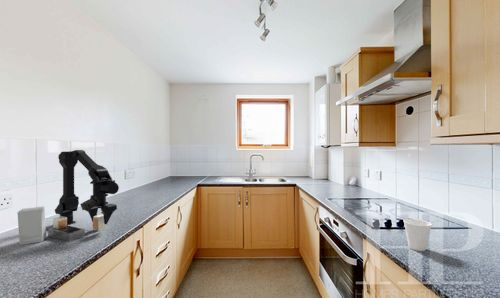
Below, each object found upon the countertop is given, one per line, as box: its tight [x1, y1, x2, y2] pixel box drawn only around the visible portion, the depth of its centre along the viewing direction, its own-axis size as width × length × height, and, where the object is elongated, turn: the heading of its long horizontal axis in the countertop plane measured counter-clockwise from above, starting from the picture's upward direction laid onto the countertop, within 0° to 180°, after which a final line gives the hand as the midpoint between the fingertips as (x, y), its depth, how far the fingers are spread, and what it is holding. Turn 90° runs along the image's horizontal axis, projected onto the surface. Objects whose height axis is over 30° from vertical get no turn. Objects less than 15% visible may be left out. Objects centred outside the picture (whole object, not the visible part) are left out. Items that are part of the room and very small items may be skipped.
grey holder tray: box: [47, 216, 86, 242], centre depth 117 cm, size 16×7×8 cm, turn 66°
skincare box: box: [17, 206, 47, 246], centre depth 111 cm, size 8×6×15 cm
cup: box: [403, 218, 433, 252], centre depth 103 cm, size 10×10×11 cm
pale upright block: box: [92, 213, 107, 232], centre depth 127 cm, size 4×4×7 cm
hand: (99, 223), depth 127 cm, fingers open, 9 cm apart
